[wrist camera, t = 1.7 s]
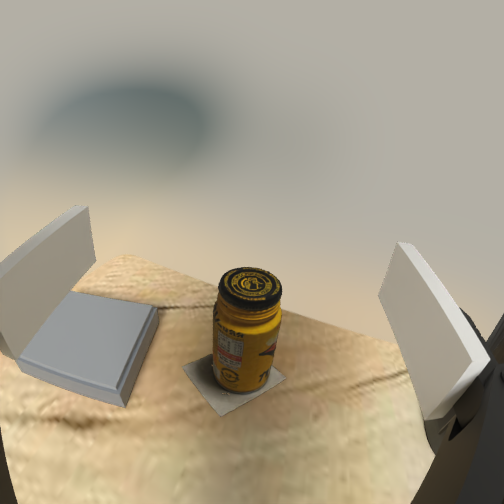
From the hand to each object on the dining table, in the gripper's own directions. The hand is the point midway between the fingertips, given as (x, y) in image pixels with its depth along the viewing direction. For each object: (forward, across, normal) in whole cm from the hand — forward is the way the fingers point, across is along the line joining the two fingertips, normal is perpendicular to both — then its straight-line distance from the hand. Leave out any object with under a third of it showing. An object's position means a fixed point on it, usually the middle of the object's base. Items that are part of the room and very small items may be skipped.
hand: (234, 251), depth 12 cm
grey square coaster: (+9, -17, -20) cm, 28 cm away
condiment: (+10, 0, -20) cm, 23 cm away
